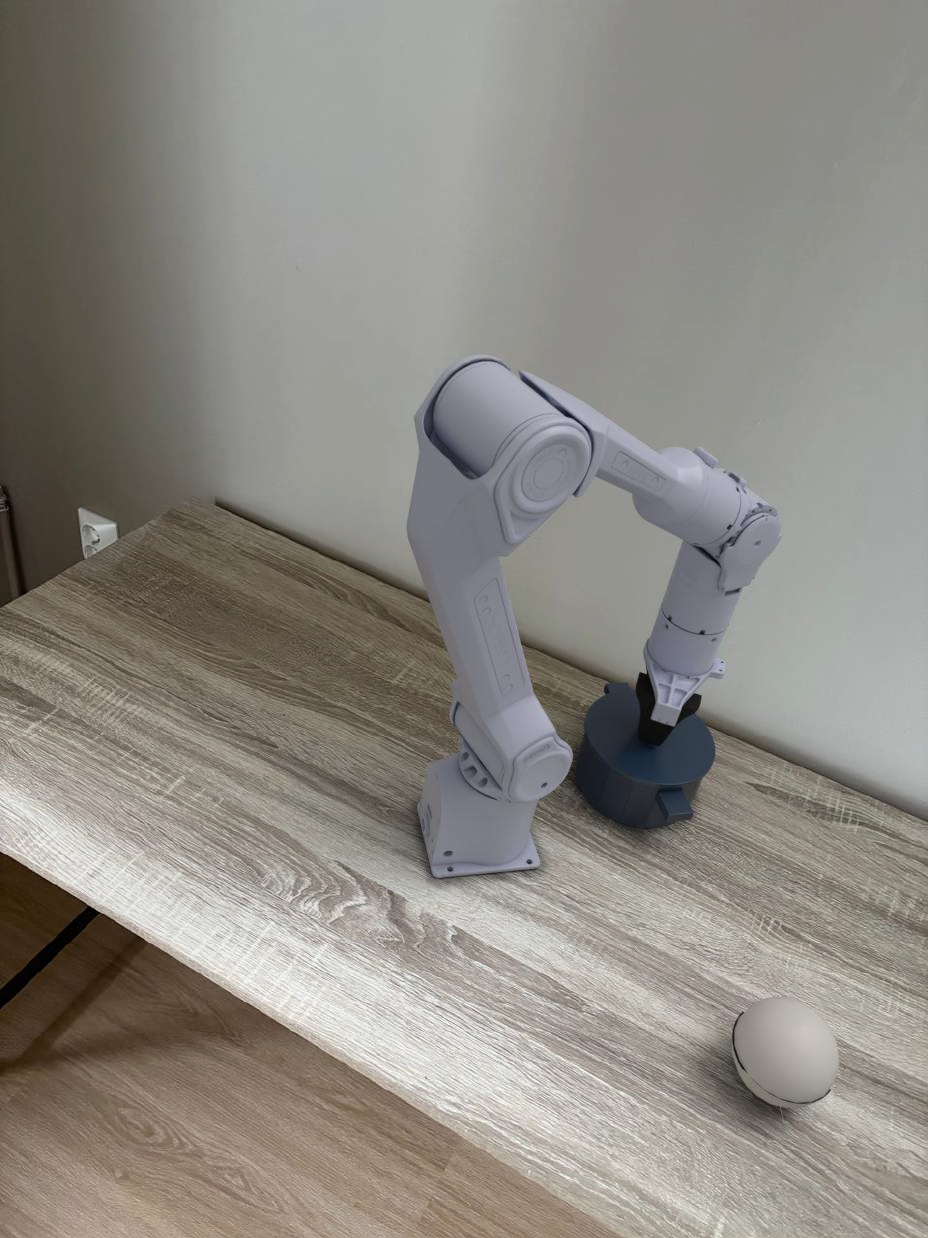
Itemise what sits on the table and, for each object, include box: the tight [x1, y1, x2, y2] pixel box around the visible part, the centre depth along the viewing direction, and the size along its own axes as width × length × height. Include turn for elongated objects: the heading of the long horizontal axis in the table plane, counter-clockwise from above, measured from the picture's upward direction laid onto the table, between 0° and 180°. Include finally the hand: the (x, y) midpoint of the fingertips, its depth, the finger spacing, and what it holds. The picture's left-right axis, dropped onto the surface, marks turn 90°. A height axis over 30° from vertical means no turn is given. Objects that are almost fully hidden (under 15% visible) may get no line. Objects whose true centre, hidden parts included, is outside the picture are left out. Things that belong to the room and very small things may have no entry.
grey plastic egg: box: [731, 996, 840, 1140], centre depth 69 cm, size 10×7×7 cm
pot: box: [574, 681, 704, 829], centre depth 92 cm, size 11×17×6 cm
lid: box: [583, 689, 717, 788], centre depth 89 cm, size 12×12×5 cm
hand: (652, 729), depth 90 cm, fingers closed
